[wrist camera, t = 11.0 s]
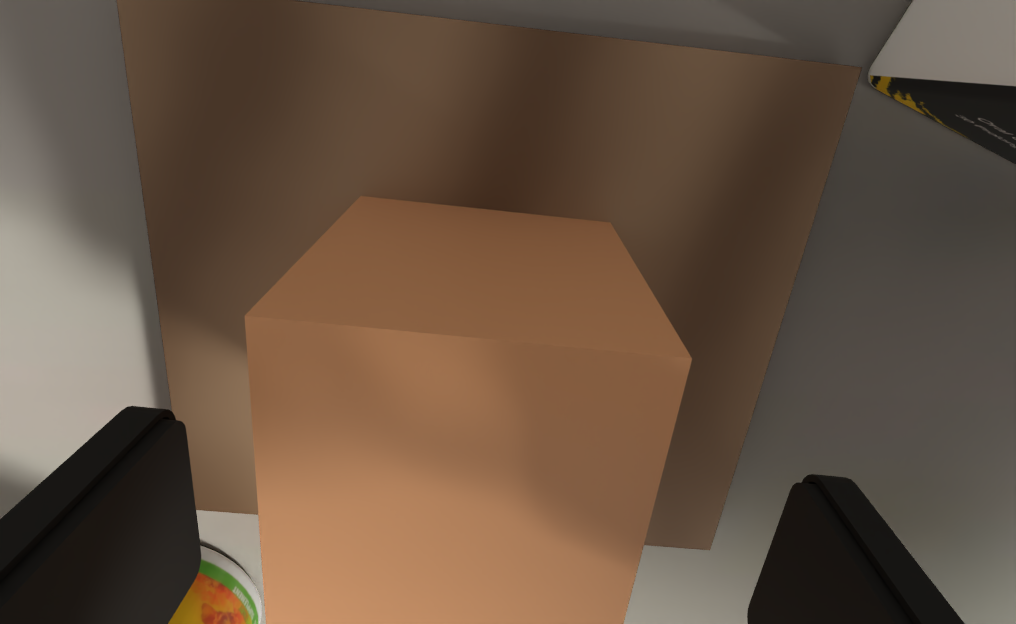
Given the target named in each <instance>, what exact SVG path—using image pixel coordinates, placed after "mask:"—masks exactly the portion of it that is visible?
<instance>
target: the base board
mask: <svg viewBox="0 0 1016 624" xmlns="http://www.w3.org/2000/svg"><path fill="white" fill-rule="evenodd" d="M117 7H118V14H119V21H120V29H121V36H122V44H123V51H124V59H125V66H126V73H127V81H128V88H129V96H130V103H131V111H132V118H133V125H134V133H135V140H136V148H137V155H138V163H139V170H140V177H141V185H142V192H143V200H144V207H145V215H146V222H147V229H148V237H149V244H150V252H151V259H152V267H153V274H154V281H155V289H156V296H157V304H158V311H159V319H160V326H161V333H162V341H163V348H164V356H165V363H166V371H167V378H168V385H169V393H170V400H171V408H172V412H173V414H174V415H175V418H176V420H178V421H182V422H183V423H184V424H185V427H186V432H187V440H188V448H189V457H190V465H191V473H192V481H193V490H194V498H195V506H196V510H205V511H218V512H231V513H244V514H256V515H258V501H257V487H256V472H255V458H254V444H253V430H252V415H251V401H250V387H249V373H248V359H247V344H246V330H245V315H246V314H247V313H248V312H249V311H250V310H251V309H252V307H253V306H254V305H255V304H256V303H257V302H258V301H259V300H260V299H261V298H262V297H263V296H264V295H265V294H266V293H267V292H268V291H269V290H270V289H271V288H272V287H273V286H274V285H275V284H276V283H277V282H278V281H279V280H280V279H281V278H282V277H283V276H284V274H285V273H286V272H287V271H288V270H289V269H290V268H291V267H292V266H293V265H294V264H295V263H296V262H297V261H298V260H299V259H300V258H301V257H302V256H303V255H304V254H305V253H306V252H307V251H308V250H309V249H310V248H311V247H312V246H313V245H314V244H315V243H316V241H317V240H318V239H319V238H320V237H321V236H322V235H323V234H324V233H325V232H326V231H327V230H328V229H329V228H330V227H331V226H332V225H333V224H334V223H335V222H336V221H337V220H338V219H339V218H340V217H341V216H342V215H343V214H344V213H345V212H346V211H347V210H348V208H349V207H350V206H351V205H352V204H353V203H354V202H355V201H356V200H357V199H358V198H359V197H360V196H366V197H375V198H385V199H394V200H404V201H413V202H422V203H432V204H441V205H451V206H460V207H470V208H479V209H488V210H498V211H507V212H517V213H526V214H536V215H545V216H554V217H564V218H573V219H583V220H592V221H602V222H610V223H611V224H612V226H613V228H614V229H615V231H616V233H617V234H618V236H619V238H620V239H621V241H622V243H623V244H624V246H625V248H626V249H627V251H628V253H629V254H630V256H631V258H632V259H633V261H634V263H635V264H636V266H637V268H638V269H639V271H640V273H641V274H642V276H643V278H644V279H645V281H646V283H647V284H648V286H649V288H650V289H651V291H652V293H653V294H654V296H655V298H656V299H657V301H658V303H659V304H660V306H661V308H662V309H663V311H664V313H665V314H666V316H667V318H668V319H669V321H670V323H671V324H672V326H673V328H674V329H675V331H676V333H677V334H678V336H679V338H680V339H681V341H682V343H683V344H684V346H685V348H686V349H687V351H688V353H689V354H690V356H691V358H692V361H691V365H690V369H689V373H688V377H687V381H686V384H685V388H684V392H683V396H682V400H681V404H680V407H679V411H678V415H677V419H676V423H675V427H674V431H673V434H672V438H671V442H670V446H669V450H668V454H667V458H666V461H665V465H664V469H663V473H662V477H661V481H660V484H659V488H658V492H657V496H656V500H655V504H654V508H653V511H652V515H651V519H650V523H649V527H648V531H647V534H646V538H645V542H644V545H651V546H663V547H676V548H689V549H701V550H710V548H711V545H712V542H713V539H714V536H715V532H716V529H717V526H718V523H719V520H720V517H721V513H722V510H723V507H724V504H725V501H726V497H727V494H728V491H729V488H730V485H731V482H732V478H733V475H734V472H735V469H736V466H737V463H738V459H739V456H740V453H741V450H742V447H743V443H744V440H745V437H746V434H747V431H748V428H749V424H750V421H751V418H752V415H753V412H754V409H755V405H756V402H757V399H758V396H759V393H760V389H761V386H762V383H763V380H764V377H765V374H766V370H767V367H768V364H769V361H770V358H771V355H772V351H773V348H774V345H775V342H776V339H777V335H778V332H779V329H780V326H781V323H782V320H783V316H784V313H785V310H786V307H787V304H788V301H789V297H790V294H791V291H792V288H793V285H794V281H795V278H796V275H797V272H798V269H799V266H800V262H801V259H802V256H803V253H804V250H805V247H806V243H807V240H808V237H809V234H810V231H811V227H812V224H813V221H814V218H815V215H816V212H817V208H818V205H819V202H820V199H821V196H822V193H823V189H824V186H825V183H826V180H827V177H828V173H829V170H830V167H831V164H832V161H833V158H834V154H835V151H836V148H837V145H838V142H839V139H840V135H841V132H842V129H843V126H844V123H845V120H846V116H847V113H848V110H849V107H850V104H851V100H852V97H853V94H854V91H855V88H856V85H857V81H858V78H859V75H860V72H861V69H862V67H855V66H847V65H838V64H830V63H821V62H813V61H804V60H796V59H787V58H779V57H770V56H762V55H753V54H745V53H736V52H728V51H719V50H711V49H702V48H694V47H685V46H677V45H668V44H660V43H652V42H643V41H635V40H626V39H618V38H609V37H601V36H592V35H584V34H575V33H567V32H558V31H550V30H541V29H533V28H524V27H516V26H507V25H499V24H490V23H482V22H473V21H465V20H456V19H448V18H439V17H431V16H422V15H414V14H405V13H397V12H388V11H380V10H371V9H363V8H354V7H346V6H337V5H329V4H320V3H312V2H303V1H295V0H117Z"/></svg>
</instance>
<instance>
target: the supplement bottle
mask: <svg viewBox="0 0 1016 624" xmlns="http://www.w3.org/2000/svg"><path fill="white" fill-rule="evenodd" d="M200 547H201V564H200V568H199V572H198V574H197V577H196V579H195V581H194V583H193V584H192V586H191V587H190V589H189V591H188V592H187V594H186V596H185V597H184V599H183V600H182V602H181V604H180V605H179V607H178V609H177V610H176V612H175V613H174V615H173V617H172V618H171V620H170V621H169V623H168V624H260V621H261V616H262V604H261V599H260V596H259V593H258V591H257V588H256V587H255V585H254V583H253V582H252V580H251V579H250V577H249V576H248V575H247V574H246V573H245V572H244V571H243V570H242V569H241V568H240V567H239V566H238V565H237V564H235V563H234V562H233V561H231V560H230V559H228V558H227V557H225V556H223V555H221V554H220V553H218V552H216V551H213V550H211V549H209V548H206V547H203V546H200Z"/></svg>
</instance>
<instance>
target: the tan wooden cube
mask: <svg viewBox="0 0 1016 624" xmlns="http://www.w3.org/2000/svg"><path fill="white" fill-rule="evenodd" d="M245 330H246V344H247V359H248V373H249V387H250V401H251V415H252V430H253V444H254V458H255V472H256V487H257V501H258V515H259V529H260V544H261V558H262V572H263V586H264V601H265V615H266V624H623V623H624V619H625V615H626V611H627V608H628V604H629V600H630V596H631V592H632V588H633V584H634V581H635V577H636V573H637V569H638V565H639V561H640V558H641V554H642V550H643V546H644V542H645V538H646V534H647V531H648V527H649V523H650V519H651V515H652V511H653V508H654V504H655V500H656V496H657V492H658V488H659V484H660V481H661V477H662V473H663V469H664V465H665V461H666V458H667V454H668V450H669V446H670V442H671V438H672V434H673V431H674V427H675V423H676V419H677V415H678V411H679V407H680V404H681V400H682V396H683V392H684V388H685V384H686V381H687V377H688V373H689V369H690V365H691V361H692V358H691V356H690V354H689V353H688V351H687V349H686V348H685V346H684V344H683V343H682V341H681V339H680V338H679V336H678V334H677V333H676V331H675V329H674V328H673V326H672V324H671V323H670V321H669V319H668V318H667V316H666V314H665V313H664V311H663V309H662V308H661V306H660V304H659V303H658V301H657V299H656V298H655V296H654V294H653V293H652V291H651V289H650V288H649V286H648V284H647V283H646V281H645V279H644V278H643V276H642V274H641V273H640V271H639V269H638V268H637V266H636V264H635V263H634V261H633V259H632V258H631V256H630V254H629V253H628V251H627V249H626V248H625V246H624V244H623V243H622V241H621V239H620V238H619V236H618V234H617V233H616V231H615V229H614V228H613V226H612V224H611V223H610V222H602V221H592V220H583V219H573V218H564V217H554V216H545V215H536V214H526V213H517V212H507V211H498V210H488V209H479V208H470V207H460V206H451V205H441V204H432V203H422V202H413V201H404V200H394V199H385V198H375V197H366V196H360V197H359V198H358V199H357V200H356V201H355V202H354V203H353V204H352V205H351V206H350V207H349V208H348V210H347V211H346V212H345V213H344V214H343V215H342V216H341V217H340V218H339V219H338V220H337V221H336V222H335V223H334V224H333V225H332V226H331V227H330V228H329V229H328V230H327V231H326V232H325V233H324V234H323V235H322V236H321V237H320V238H319V239H318V240H317V241H316V243H315V244H314V245H313V246H312V247H311V248H310V249H309V250H308V251H307V252H306V253H305V254H304V255H303V256H302V257H301V258H300V259H299V260H298V261H297V262H296V263H295V264H294V265H293V266H292V267H291V268H290V269H289V270H288V271H287V272H286V273H285V274H284V276H283V277H282V278H281V279H280V280H279V281H278V282H277V283H276V284H275V285H274V286H273V287H272V288H271V289H270V290H269V291H268V292H267V293H266V294H265V295H264V296H263V297H262V298H261V299H260V300H259V301H258V302H257V303H256V304H255V305H254V306H253V307H252V309H251V310H250V311H249V312H248V313H247V314H246V315H245Z"/></svg>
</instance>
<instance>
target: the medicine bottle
mask: <svg viewBox="0 0 1016 624" xmlns="http://www.w3.org/2000/svg"><path fill="white" fill-rule="evenodd" d="M868 81H869V83H870V84H871V85H872V86H873V87H874V88H875V89H877V90H879V91H881V92H882V93H884V94H886V95H888V96H890V97H892V98H894V99H896V100H897V101H899V102H901V103H903V104H905V105H907V106H909V107H910V108H912V109H914V110H916V111H918V112H920V113H922V114H923V115H925V116H927V117H929V118H931V119H933V120H935V121H937V122H938V123H940V124H942V125H944V126H946V127H948V128H950V129H951V130H953V131H955V132H957V133H959V134H961V135H963V136H965V137H966V138H968V139H970V140H972V141H974V142H976V143H978V144H979V145H981V146H983V147H985V148H987V149H989V150H991V151H992V152H994V153H996V154H998V155H1000V156H1002V157H1004V158H1006V159H1007V160H1009V161H1011V162H1013V163H1015V164H1016V0H913V1H912V3H911V4H910V6H909V7H908V9H907V10H906V12H905V14H904V15H903V17H902V18H901V20H900V21H899V23H898V25H897V26H896V28H895V29H894V31H893V32H892V34H891V36H890V37H889V39H888V40H887V42H886V43H885V45H884V47H883V48H882V50H881V51H880V53H879V54H878V56H877V58H876V59H875V61H874V62H873V64H872V65H871V67H870V70H869V72H868Z"/></svg>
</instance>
